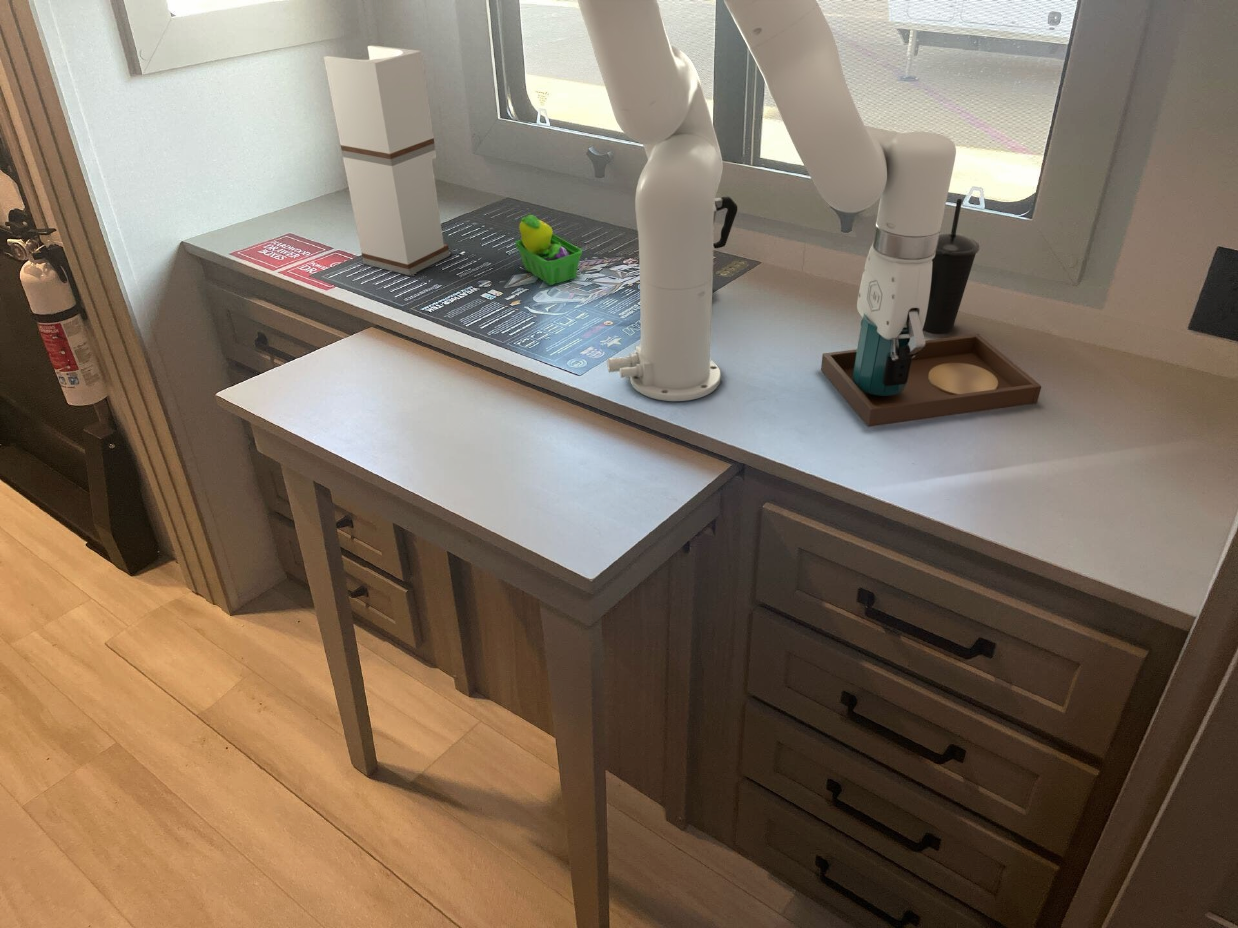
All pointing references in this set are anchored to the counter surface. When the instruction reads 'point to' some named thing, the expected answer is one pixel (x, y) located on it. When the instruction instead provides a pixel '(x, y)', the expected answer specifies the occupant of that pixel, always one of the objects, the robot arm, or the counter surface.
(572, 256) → the fruit basket
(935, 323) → the drinking cup
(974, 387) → the coaster
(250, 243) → the counter surface
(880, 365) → the cup
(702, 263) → the robot arm
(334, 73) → the striped cream pillar
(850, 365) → the tray
